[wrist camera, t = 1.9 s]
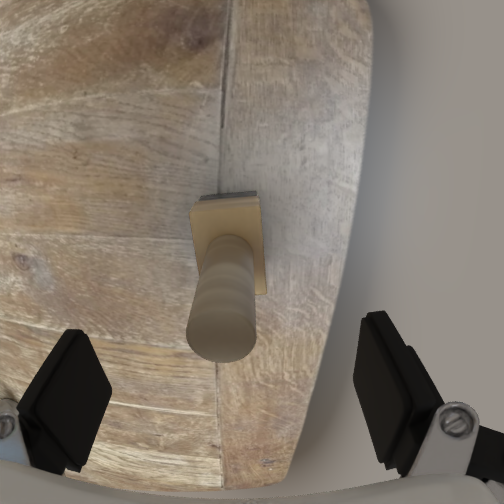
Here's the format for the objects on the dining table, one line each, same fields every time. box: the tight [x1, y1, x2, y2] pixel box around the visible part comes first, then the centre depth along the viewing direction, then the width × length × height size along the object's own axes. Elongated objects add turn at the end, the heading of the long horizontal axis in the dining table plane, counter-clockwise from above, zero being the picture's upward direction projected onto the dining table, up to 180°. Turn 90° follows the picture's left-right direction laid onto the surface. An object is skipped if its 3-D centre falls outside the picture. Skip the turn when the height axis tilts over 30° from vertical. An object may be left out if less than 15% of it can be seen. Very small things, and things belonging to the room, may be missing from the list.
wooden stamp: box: [186, 191, 267, 363], centre depth 15 cm, size 5×4×10 cm
